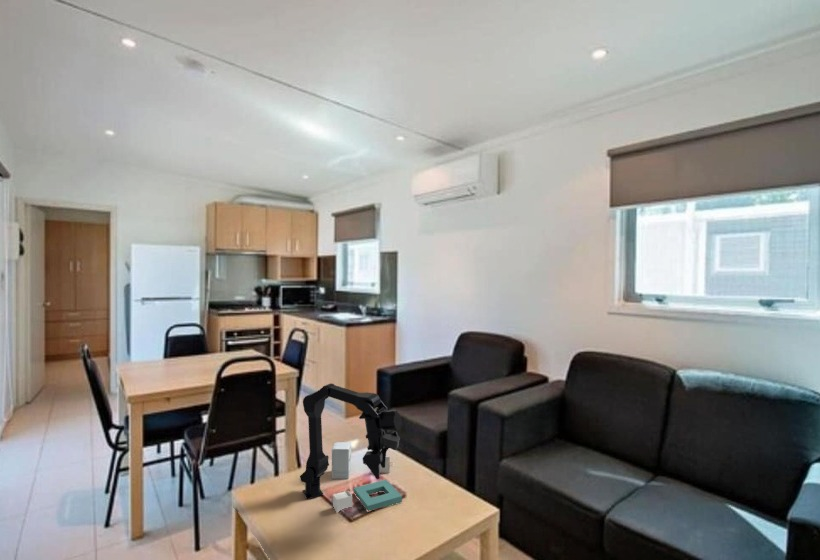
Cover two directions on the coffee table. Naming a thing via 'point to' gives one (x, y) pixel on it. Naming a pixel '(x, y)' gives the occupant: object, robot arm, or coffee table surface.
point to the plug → (342, 500)
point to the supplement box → (341, 460)
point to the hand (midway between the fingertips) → (381, 473)
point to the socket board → (378, 501)
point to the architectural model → (386, 466)
